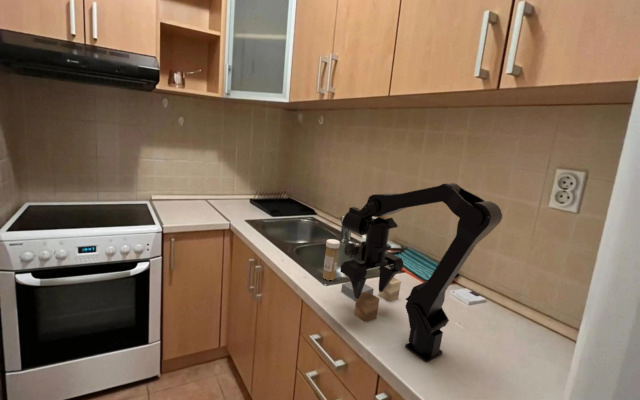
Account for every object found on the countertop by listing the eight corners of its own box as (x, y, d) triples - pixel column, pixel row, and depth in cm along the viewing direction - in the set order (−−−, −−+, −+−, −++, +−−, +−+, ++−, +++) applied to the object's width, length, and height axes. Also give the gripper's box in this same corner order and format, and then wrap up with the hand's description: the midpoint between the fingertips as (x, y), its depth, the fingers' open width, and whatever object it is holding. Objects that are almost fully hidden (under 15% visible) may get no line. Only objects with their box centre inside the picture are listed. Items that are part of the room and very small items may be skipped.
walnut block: (376, 318, 95) (379, 298, 94) (365, 322, 92) (368, 302, 91) (365, 311, 98) (368, 291, 97) (354, 314, 96) (356, 294, 94)
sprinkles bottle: (338, 279, 117) (342, 242, 114) (327, 282, 114) (331, 243, 112) (330, 274, 120) (334, 238, 118) (319, 276, 118) (323, 239, 115)
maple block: (398, 299, 108) (401, 281, 107) (388, 302, 105) (391, 283, 104) (387, 292, 111) (390, 275, 110) (378, 295, 108) (380, 278, 107)
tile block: (372, 297, 107) (373, 288, 107) (356, 302, 103) (357, 293, 103) (356, 288, 113) (358, 279, 112) (341, 292, 108) (342, 284, 108)
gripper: (378, 228, 103) (371, 277, 106) (330, 234, 91) (324, 289, 94) (408, 240, 94) (399, 292, 97) (359, 248, 83) (351, 307, 86)
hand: (368, 294), depth 94 cm, fingers open, 9 cm apart
